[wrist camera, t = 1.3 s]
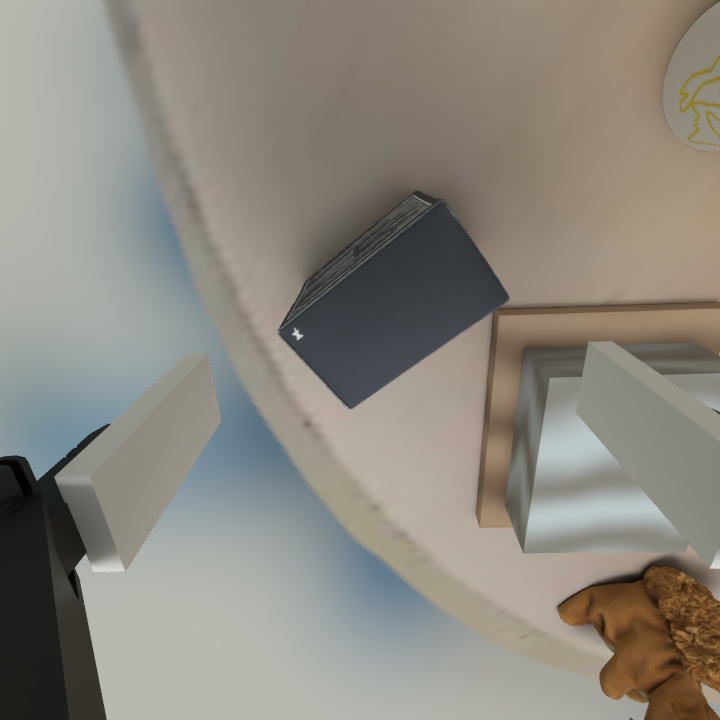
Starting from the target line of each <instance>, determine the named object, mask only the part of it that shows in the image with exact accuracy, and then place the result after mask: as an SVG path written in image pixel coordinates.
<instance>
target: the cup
mask: <svg viewBox="0 0 720 720" xmlns="http://www.w3.org/2000/svg"><path fill="white" fill-rule="evenodd" d="M662 105H663V112H664V116H665V119H666V122H667V124H668V126H669V128H670V130H671V131H672V133H673V134H674V135H675V137H676V138H677V139H678V140H680V141H681V142H682V143H684V144H685V145H687V146H689V147H691V148H693V149H697V150H701V151H709V152H715V151H720V2H718V3H716V4H715V5H714V6H712V7H711V8H709V9H708V10H707V11H706V12H705V13H703V14H702V15H701V16H700V17H699V18H698V19H697V20H696V21H695V22H694V23H693V24H692V26H691V27H690V28H689V29H688V30H687V32H686V33H685V34H684V36H683V37H682V39H681V40H680V42H679V44H678V45H677V47H676V49H675V51H674V53H673V55H672V57H671V59H670V62H669V64H668V67H667V70H666V74H665V78H664V83H663V90H662Z"/></svg>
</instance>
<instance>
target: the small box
mask: <svg viewBox="0 0 720 720" xmlns="http://www.w3.org/2000/svg"><path fill="white" fill-rule="evenodd" d="M508 301H509V295H508V293H507V292H506V290H505V289H504V287H503V285H502V284H501V282H500V280H499V279H498V278H497V276H496V275H495V273H494V272H493V270H492V269H491V267H490V265H489V264H488V262H487V261H486V259H485V258H484V256H483V255H482V254H481V252H480V251H479V249H478V248H477V246H476V245H475V243H474V242H473V241H472V239H471V238H470V236H469V235H468V233H467V232H466V230H465V229H464V227H463V226H462V224H461V223H460V222H459V220H458V219H457V217H456V216H455V214H454V213H453V212H452V210H451V208H450V207H449V205H448V204H447V203H446V202H445V201H444V200H443V199H435V198H433V197H431V196H428V195H426V194H423V193H422V192H421V191H415V192H414V193H413V194H412V195H411V196H409V197H408V198H407V199H405V200H404V201H403V202H402V203H400V204H399V205H398V206H397V207H396V208H394V209H393V210H392V211H391V212H389V213H388V214H387V215H386V216H385V217H383V218H382V219H381V220H380V221H378V222H376V224H375V225H374V226H372V227H371V228H370V229H369V230H367V231H366V232H365V233H364V234H363V235H362V236H360V237H359V238H358V239H357V240H355V241H354V242H353V243H352V244H350V245H349V246H347V247H346V248H345V249H344V250H343V251H341V252H340V253H339V254H338V255H337V256H336V257H334V258H333V259H332V260H330V261H329V262H328V263H327V264H326V265H325V266H323V267H322V268H321V269H320V270H319V271H318V272H317V273H315V274H314V275H313V276H312V277H311V278H310V279H308V280H307V281H305V283H304V285H303V287H302V290H301V292H300V294H299V295H298V297H297V299H296V301H295V303H294V304H293V305H292V307H291V309H290V311H289V312H288V314H287V316H286V317H285V319H284V321H283V322H282V324H281V326H280V328H279V329H278V336H279V337H280V338H281V339H282V340H283V341H284V342H285V343H286V344H287V345H288V346H289V347H290V348H291V349H292V350H293V351H294V352H295V354H296V355H297V356H298V357H299V358H300V359H301V360H302V361H303V362H304V363H305V364H306V365H307V366H308V367H309V368H310V369H311V370H312V371H313V373H314V374H315V375H316V376H317V377H318V378H319V379H320V380H321V381H322V382H323V383H324V384H325V385H326V387H327V388H328V389H329V390H330V391H331V392H332V393H333V394H334V395H335V396H336V397H337V398H338V399H339V400H340V401H341V403H342V404H343V405H344V406H345V407H346V408H347V409H353V408H354V407H355V406H357V405H358V404H360V403H361V402H363V401H364V400H366V399H367V398H368V397H370V396H371V395H373V394H374V393H376V392H377V391H378V390H380V389H381V388H383V387H384V386H386V385H387V384H388V383H390V382H391V381H393V380H394V379H396V378H397V377H399V376H400V375H401V374H403V373H404V372H406V371H407V370H409V369H410V368H412V367H413V366H414V365H416V364H417V363H419V362H420V361H422V360H423V359H424V358H426V357H427V356H429V355H430V354H432V353H433V352H435V351H436V350H438V349H439V348H441V347H442V346H443V345H445V344H446V343H448V342H449V341H451V340H452V339H454V338H455V337H457V336H458V335H460V334H461V333H462V332H464V331H465V330H467V329H468V328H470V327H471V326H473V325H474V324H476V323H477V322H479V321H480V320H482V319H483V318H485V317H486V316H487V315H489V314H490V313H492V312H493V311H495V310H496V309H498V308H499V307H501V306H502V305H504V304H505V303H506V302H508Z"/></svg>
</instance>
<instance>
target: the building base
mask: <svg viewBox="0 0 720 720" xmlns="http://www.w3.org/2000/svg"><path fill="white" fill-rule="evenodd" d="M600 341H612V342H614V343H615V344H617V345H618V346H620V347H621V348H623V349H624V350H626V351H627V352H628V353H630V354H631V355H633V356H634V357H636V358H637V359H639V360H640V361H642V362H643V363H645V364H646V365H648V366H649V367H651V368H652V369H653V370H655V371H656V372H658V373H659V374H661V375H662V376H664V377H665V378H667V379H668V380H670V381H671V382H673V383H674V384H675V385H677V386H678V387H680V388H681V389H683V390H684V391H686V392H687V393H689V394H690V395H692V396H693V397H695V398H696V399H698V400H699V401H700V402H702V403H703V404H705V405H706V406H708V407H709V408H712V409H715V410H717V411H719V412H720V356H719V352H720V303H719V302H706V303H676V304H647V305H617V306H588V307H558V308H529V309H499V310H495V311H494V313H493V325H492V336H491V348H490V360H489V371H488V383H487V395H486V406H485V418H484V430H483V441H482V453H481V465H480V476H479V488H478V500H477V512H476V516H477V520H478V523H479V527H480V528H500V527H513V528H514V531H515V533H516V536H517V538H518V541H519V543H520V546H521V549H522V551H523V553H645V552H686V549H687V547H688V542H687V541H686V540H685V539H684V538H683V537H682V535H681V534H680V533H679V532H678V531H677V530H676V528H675V527H674V526H673V525H672V524H671V523H670V522H669V520H668V519H667V518H666V517H665V516H664V515H663V513H662V512H661V511H660V510H659V509H658V508H657V506H656V505H655V504H654V503H653V502H652V501H651V499H650V498H649V497H648V496H647V495H646V494H645V493H644V491H643V490H642V489H641V488H640V487H639V486H638V484H637V483H636V482H635V481H634V480H633V479H632V477H631V476H630V475H629V474H628V473H627V472H626V470H625V469H624V468H623V467H622V466H621V465H620V464H619V462H618V461H617V460H616V459H615V458H614V457H613V455H612V454H611V453H610V452H609V451H608V450H607V448H606V447H605V446H604V445H603V444H602V443H601V441H600V440H599V439H598V438H597V437H596V436H595V435H594V433H593V432H592V431H591V430H590V429H589V428H588V426H587V425H586V424H585V423H584V422H583V421H582V419H581V418H580V417H579V416H578V415H577V414H576V408H577V402H578V397H579V391H580V386H581V380H582V375H583V369H584V364H585V358H586V353H587V347H588V342H600Z"/></svg>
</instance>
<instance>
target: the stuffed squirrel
mask: <svg viewBox="0 0 720 720" xmlns="http://www.w3.org/2000/svg"><path fill="white" fill-rule="evenodd" d="M559 616H560V618H561V619H562V620H563V621H564V622H565V623H567V624H569V625H573V626H582V625H586V624H589V623H593V625H594V626H595V628H596V629H597V631H598V633H599V635H600V636H601V638H602V639H603V641H604V642H605V644H606V645H607V647H608V648H609V649H610V650H611V651H612V652H613V653H615V654H614V655H613V656H612V658H611V659H610V660H609V661H608V662H607V663H606V665H605V666H604V667H603V668H602V670H601V672H600V685H601V688H602V691H603V692H604V694H605V695H606V696H608V697H611V698H612V699H615V700H619V699H621V698H622V697H623V696H624V695H625V694H626V695H627V696H628V697H629V698H630V699H633V700H635V701H638V702H641V703H647V702H649V705H648V708H647V711H646V714H645V717H644V720H720V718H719V717H718V715H717V714H716V713H715V712H714V710H713V709H712V708H711V707H710V706H709V704H708V703H707V700H706V698H705V697H704V695H703V692H702V686H701V682H702V683H703V684H704V685H706V684H707V686H709V687H710V688H713V689H715V690H716V691H719V693H720V601H717V599H714V597H713V596H712V594H711V592H710V591H708V589H707V588H706V587H704V586H701V585H700V584H698V583H697V582H696V581H695V580H694V577H691V576H690V575H689V574H687V573H684V572H683V571H678V570H676V569H675V568H668V567H656V566H652V567H651V568H649V569H647V570H646V571H645V573H644V576H643V579H641V580H639V581H635V582H633V583H614V584H606V585H600V586H593V587H590V588H587V589H585V590H583V591H582V592H580V593H578V594H577V595H575V596H573V597H572V598H570V599H569V600H567V601H566V602H565V603H563V604H562V605H561V606H560V607H559ZM629 720H633V719H632V718H630V719H629Z"/></svg>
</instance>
